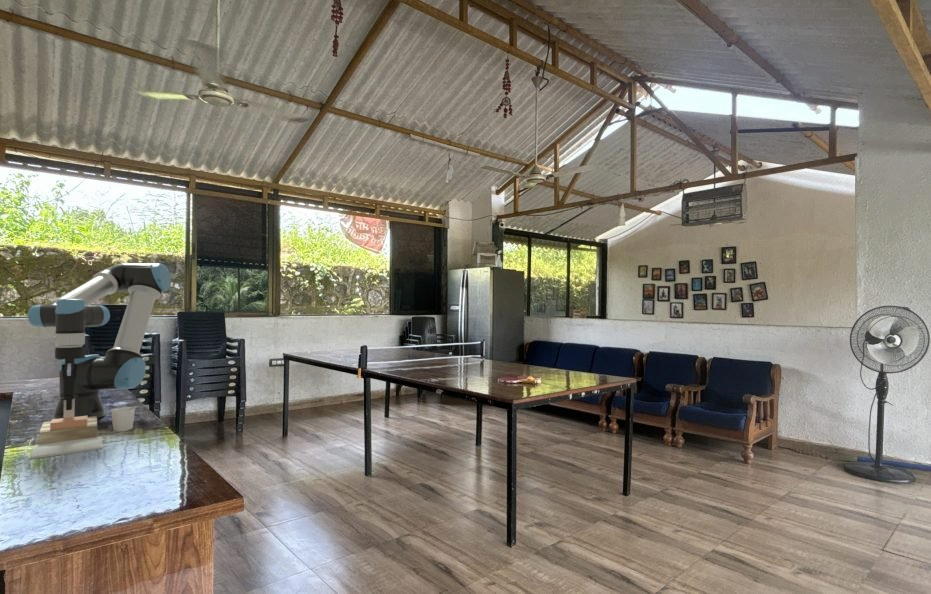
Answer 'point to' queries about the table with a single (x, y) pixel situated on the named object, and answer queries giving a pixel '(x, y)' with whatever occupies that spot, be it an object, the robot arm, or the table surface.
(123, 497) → the table surface
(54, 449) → the grey mat
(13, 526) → the table surface
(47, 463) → the table surface
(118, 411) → the shot glass
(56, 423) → the terracotta block
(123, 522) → the table surface
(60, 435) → the board
